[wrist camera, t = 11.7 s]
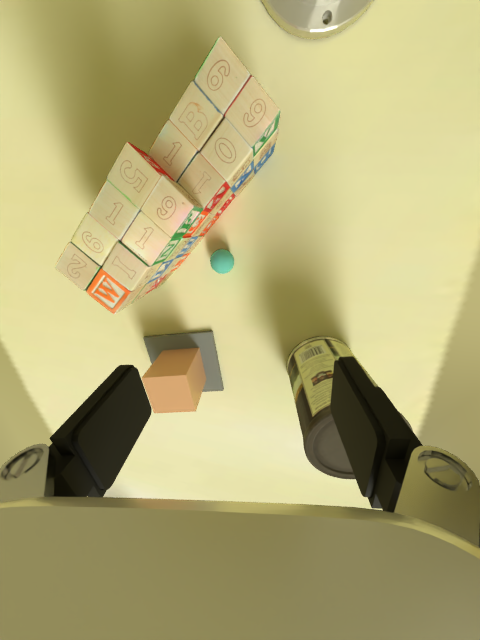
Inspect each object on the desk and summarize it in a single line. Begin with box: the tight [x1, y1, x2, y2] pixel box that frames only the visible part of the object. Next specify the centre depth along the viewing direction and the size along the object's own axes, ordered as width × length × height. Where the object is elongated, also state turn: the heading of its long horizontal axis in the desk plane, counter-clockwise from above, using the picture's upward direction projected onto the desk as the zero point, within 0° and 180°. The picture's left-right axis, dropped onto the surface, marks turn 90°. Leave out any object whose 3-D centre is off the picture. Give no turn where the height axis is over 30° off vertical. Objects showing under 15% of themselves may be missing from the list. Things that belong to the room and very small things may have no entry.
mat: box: [144, 331, 224, 392], centre depth 36 cm, size 11×11×1 cm
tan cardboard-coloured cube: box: [142, 348, 206, 413], centre depth 33 cm, size 6×6×7 cm
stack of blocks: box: [55, 36, 280, 314], centre depth 22 cm, size 21×6×12 cm, turn 136°
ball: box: [210, 249, 234, 274], centre depth 28 cm, size 3×3×3 cm
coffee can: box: [287, 337, 413, 479], centre depth 28 cm, size 10×10×14 cm
